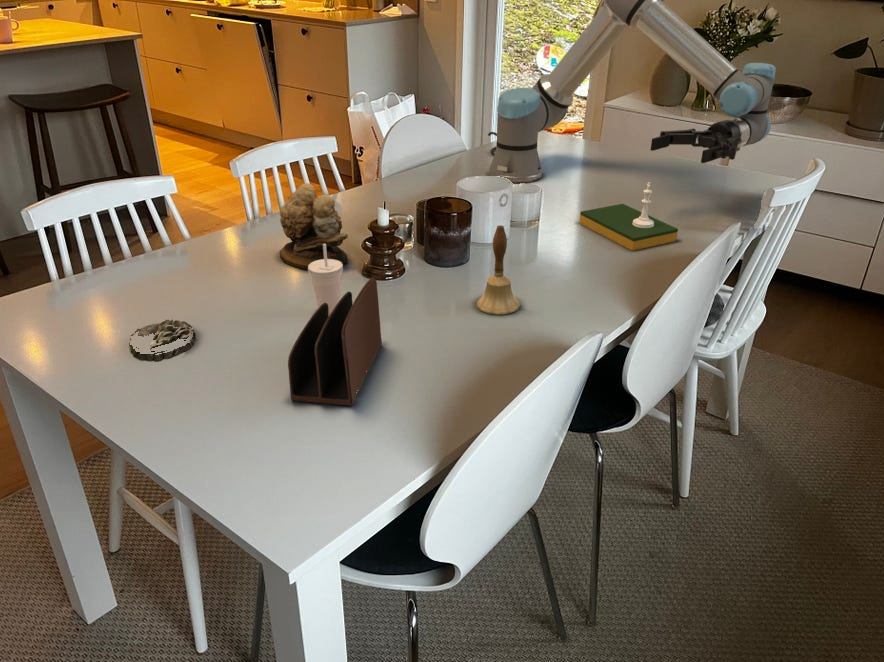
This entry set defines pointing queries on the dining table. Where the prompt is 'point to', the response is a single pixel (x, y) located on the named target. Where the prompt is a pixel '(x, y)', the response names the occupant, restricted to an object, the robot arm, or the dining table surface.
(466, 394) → the dining table surface
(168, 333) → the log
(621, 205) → the sponge pad
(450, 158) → the dining table surface
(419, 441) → the dining table surface
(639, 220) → the chess piece
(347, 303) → the letter holder
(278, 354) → the dining table surface
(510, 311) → the hand bell
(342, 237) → the owl figurine
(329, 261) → the smoothie
